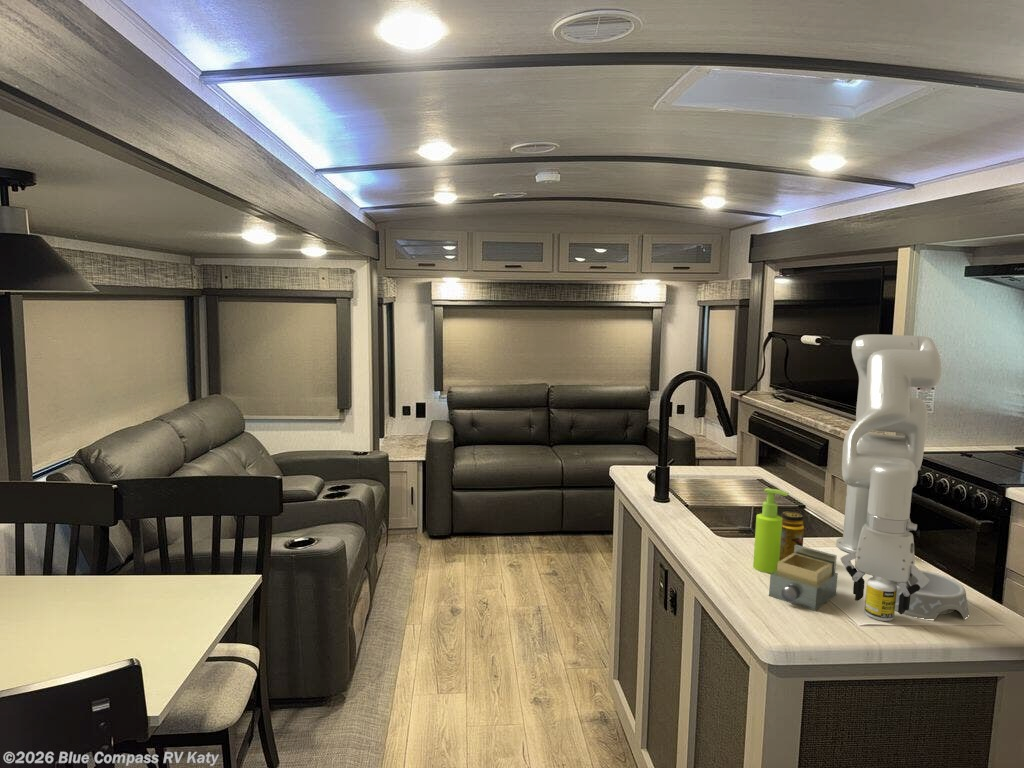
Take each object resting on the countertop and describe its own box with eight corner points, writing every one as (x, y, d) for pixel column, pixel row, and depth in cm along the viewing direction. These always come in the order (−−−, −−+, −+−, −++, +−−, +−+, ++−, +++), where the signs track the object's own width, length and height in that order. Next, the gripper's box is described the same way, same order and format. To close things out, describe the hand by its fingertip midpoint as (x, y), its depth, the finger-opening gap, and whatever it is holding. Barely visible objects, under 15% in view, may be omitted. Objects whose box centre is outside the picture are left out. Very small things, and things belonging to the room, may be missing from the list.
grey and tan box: (791, 580, 153) (794, 544, 152) (836, 594, 146) (839, 556, 145) (764, 598, 143) (767, 558, 142) (811, 613, 136) (814, 572, 135)
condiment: (807, 565, 163) (811, 518, 162) (773, 563, 164) (776, 517, 162) (796, 554, 171) (800, 510, 169) (763, 553, 171) (766, 508, 170)
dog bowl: (855, 588, 150) (857, 566, 150) (927, 586, 153) (930, 564, 152) (909, 624, 134) (911, 599, 133) (989, 620, 136) (992, 596, 135)
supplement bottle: (882, 623, 133) (886, 577, 132) (858, 612, 138) (862, 567, 136) (900, 619, 135) (904, 573, 134) (876, 608, 140) (880, 564, 139)
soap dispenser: (779, 576, 156) (785, 494, 154) (750, 568, 160) (755, 489, 158) (785, 568, 160) (791, 489, 158) (757, 561, 165) (762, 484, 162)
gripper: (941, 530, 130) (933, 614, 132) (848, 510, 143) (842, 587, 145) (931, 538, 125) (922, 626, 127) (836, 517, 138) (829, 596, 139)
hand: (880, 604), depth 136 cm, fingers open, 7 cm apart
